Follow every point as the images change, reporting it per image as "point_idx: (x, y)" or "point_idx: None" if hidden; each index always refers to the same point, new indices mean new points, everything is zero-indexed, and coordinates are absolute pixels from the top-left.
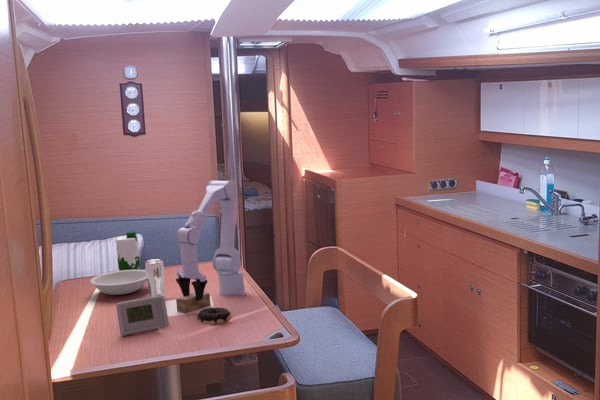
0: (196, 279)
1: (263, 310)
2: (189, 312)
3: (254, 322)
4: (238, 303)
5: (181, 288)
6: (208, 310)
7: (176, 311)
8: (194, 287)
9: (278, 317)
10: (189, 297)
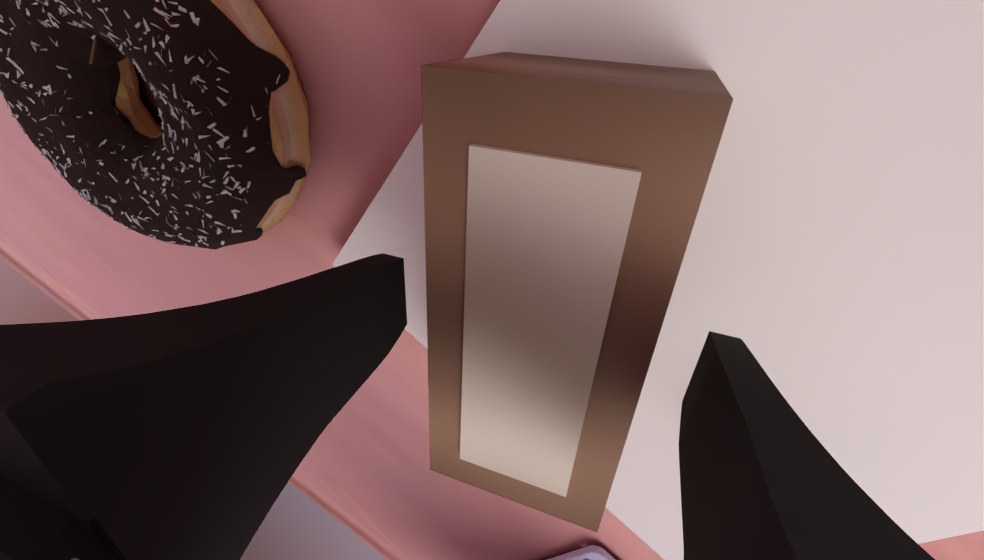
0: (10, 557)
1: None
2: None
3: (42, 195)
4: (406, 469)
5: (787, 452)
6: (160, 110)
7: (719, 53)
8: (170, 332)
9: (68, 307)
10: (499, 262)
